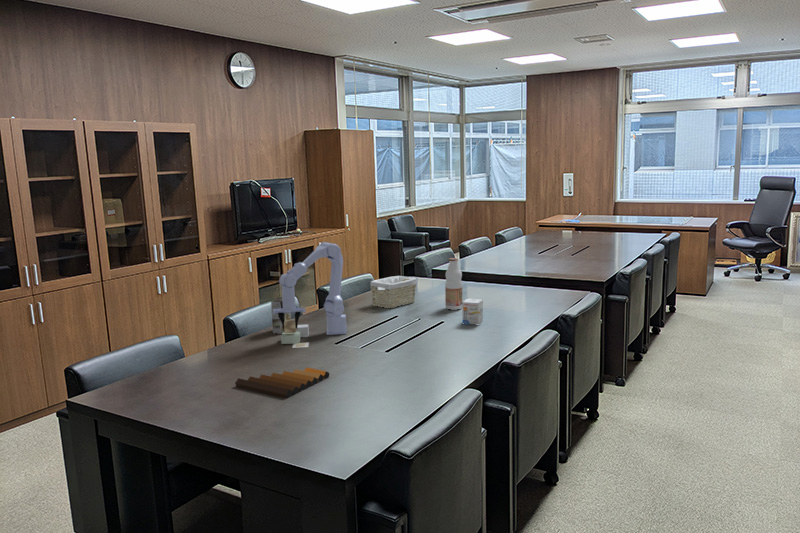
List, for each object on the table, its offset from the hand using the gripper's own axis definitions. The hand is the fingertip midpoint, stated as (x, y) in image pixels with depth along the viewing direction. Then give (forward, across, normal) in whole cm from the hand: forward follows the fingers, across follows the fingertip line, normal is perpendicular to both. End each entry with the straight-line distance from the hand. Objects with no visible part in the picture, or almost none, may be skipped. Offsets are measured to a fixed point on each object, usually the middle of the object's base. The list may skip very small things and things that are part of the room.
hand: (290, 328), depth 286 cm
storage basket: (+7, +53, +66) cm, 85 cm away
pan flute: (+7, +2, -53) cm, 54 cm away
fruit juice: (+7, +85, +50) cm, 99 cm away
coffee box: (+7, -6, +19) cm, 21 cm away
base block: (+6, 0, 0) cm, 6 cm away
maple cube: (+2, 0, 0) cm, 2 cm away
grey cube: (+6, +5, +9) cm, 12 cm away
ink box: (+7, +89, +18) cm, 91 cm away
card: (+6, +5, -7) cm, 11 cm away
